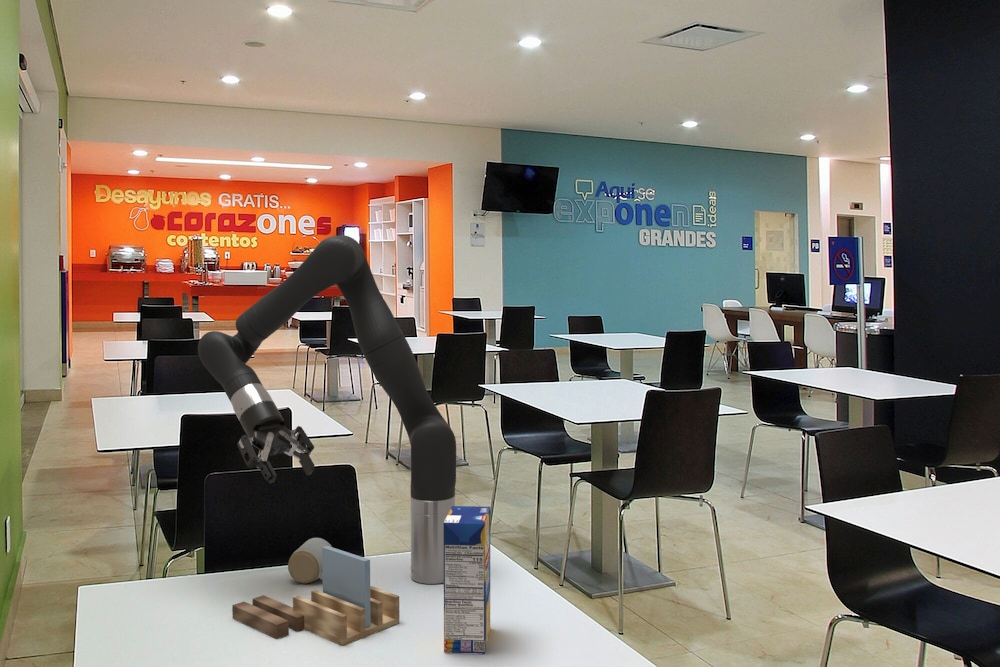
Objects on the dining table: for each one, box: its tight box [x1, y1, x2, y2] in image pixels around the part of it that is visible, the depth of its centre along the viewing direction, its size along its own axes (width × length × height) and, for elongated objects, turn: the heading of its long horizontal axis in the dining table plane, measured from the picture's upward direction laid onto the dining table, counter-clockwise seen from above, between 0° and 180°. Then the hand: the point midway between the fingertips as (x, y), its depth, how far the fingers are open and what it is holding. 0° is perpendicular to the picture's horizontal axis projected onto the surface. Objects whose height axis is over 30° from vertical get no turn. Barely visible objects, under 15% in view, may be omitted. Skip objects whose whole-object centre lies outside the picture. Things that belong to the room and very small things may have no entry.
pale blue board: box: [322, 546, 371, 628], centre depth 155 cm, size 12×1×12 cm, turn 49°
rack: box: [292, 585, 400, 647], centre depth 156 cm, size 14×13×5 cm
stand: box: [231, 595, 305, 640], centre depth 156 cm, size 14×7×2 cm, turn 49°
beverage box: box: [443, 505, 491, 655], centre depth 148 cm, size 7×11×22 cm, turn 176°
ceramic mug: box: [287, 537, 333, 585], centre depth 179 cm, size 11×8×8 cm
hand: (292, 476), depth 165 cm, fingers open, 8 cm apart
